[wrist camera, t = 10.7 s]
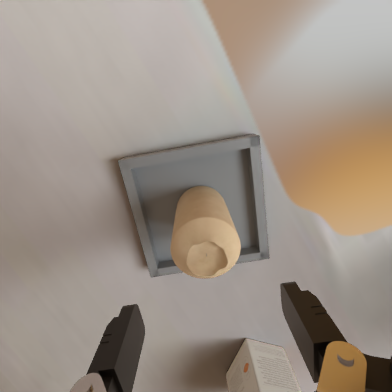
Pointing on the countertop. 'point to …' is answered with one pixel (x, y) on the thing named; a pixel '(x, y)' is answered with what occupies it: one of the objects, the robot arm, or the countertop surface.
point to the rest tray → (191, 177)
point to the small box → (261, 369)
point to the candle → (204, 234)
